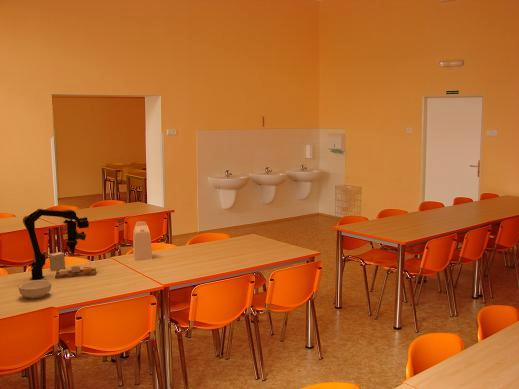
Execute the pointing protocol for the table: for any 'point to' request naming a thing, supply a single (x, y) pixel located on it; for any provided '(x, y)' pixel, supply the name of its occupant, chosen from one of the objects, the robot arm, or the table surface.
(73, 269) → the tile two pip
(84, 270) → the tile three pip
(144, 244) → the milk
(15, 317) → the table surface
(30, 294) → the cereal bowl
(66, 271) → the tile one pip
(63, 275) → the tile tray
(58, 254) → the small box
